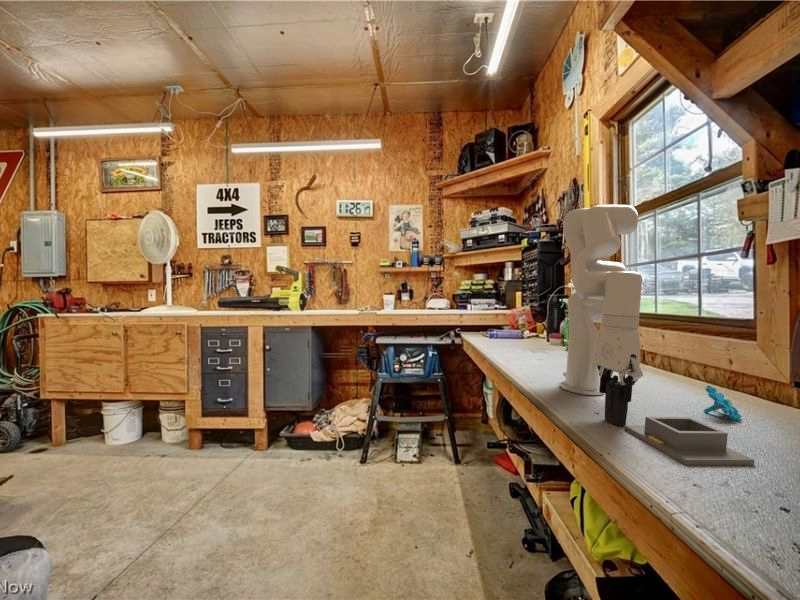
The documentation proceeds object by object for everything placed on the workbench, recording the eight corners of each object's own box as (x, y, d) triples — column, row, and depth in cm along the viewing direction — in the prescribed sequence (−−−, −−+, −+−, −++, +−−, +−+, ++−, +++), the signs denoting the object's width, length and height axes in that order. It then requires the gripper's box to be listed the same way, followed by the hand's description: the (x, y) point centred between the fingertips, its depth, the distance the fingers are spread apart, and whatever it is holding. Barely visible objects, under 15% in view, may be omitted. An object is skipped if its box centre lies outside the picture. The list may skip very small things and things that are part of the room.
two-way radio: (629, 427, 83) (634, 364, 83) (613, 427, 83) (618, 364, 82) (612, 418, 89) (616, 359, 88) (596, 418, 88) (600, 359, 87)
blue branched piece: (737, 419, 87) (705, 383, 93) (713, 430, 90) (683, 394, 97) (750, 418, 93) (719, 384, 99) (727, 428, 96) (698, 395, 103)
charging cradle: (624, 429, 82) (625, 410, 82) (680, 430, 83) (681, 411, 83) (685, 465, 66) (687, 441, 66) (754, 465, 67) (756, 441, 67)
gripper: (583, 318, 93) (578, 386, 94) (631, 326, 76) (625, 409, 77) (610, 319, 93) (605, 387, 94) (664, 328, 76) (657, 410, 77)
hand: (614, 396), depth 85 cm, fingers closed on two-way radio, 5 cm apart
